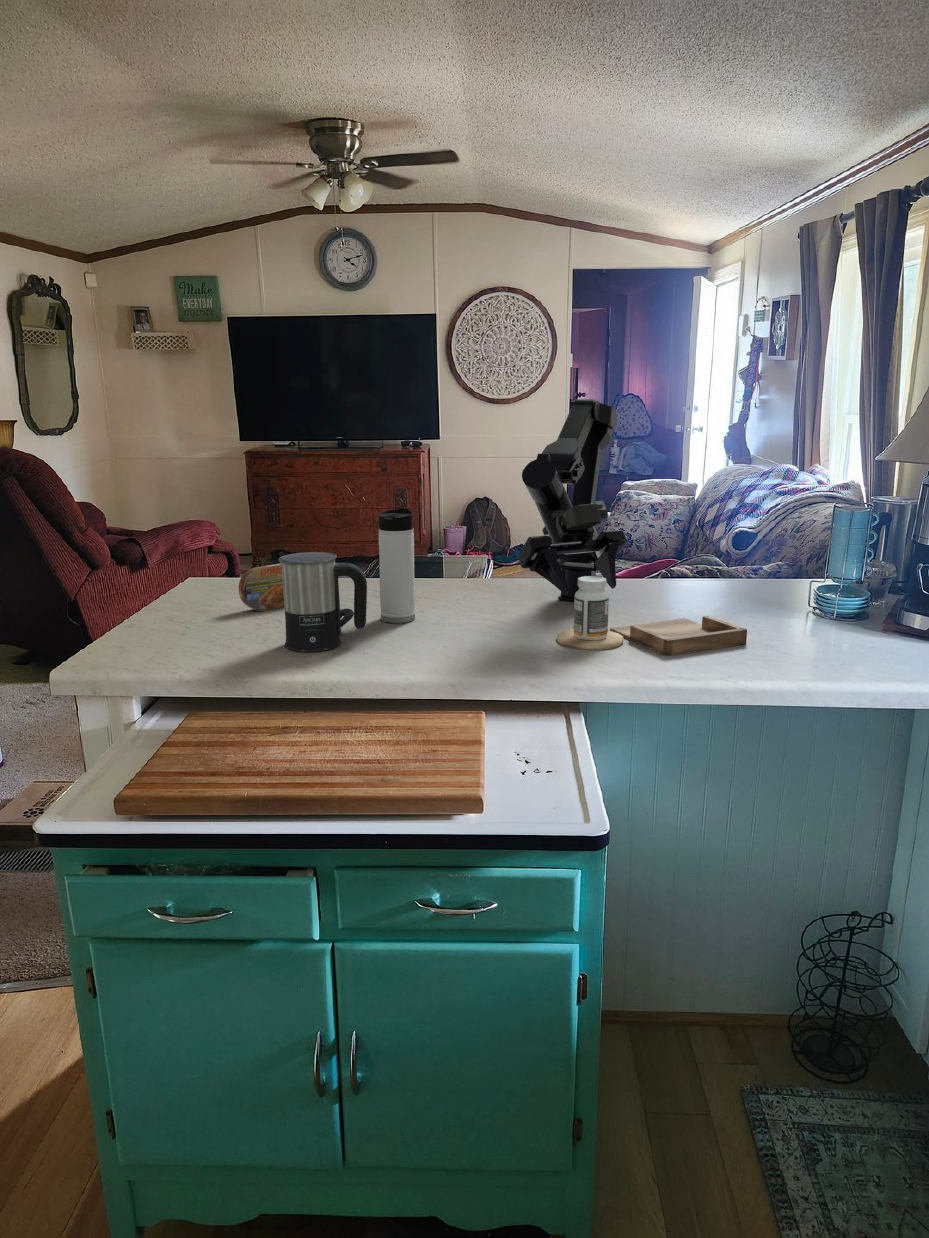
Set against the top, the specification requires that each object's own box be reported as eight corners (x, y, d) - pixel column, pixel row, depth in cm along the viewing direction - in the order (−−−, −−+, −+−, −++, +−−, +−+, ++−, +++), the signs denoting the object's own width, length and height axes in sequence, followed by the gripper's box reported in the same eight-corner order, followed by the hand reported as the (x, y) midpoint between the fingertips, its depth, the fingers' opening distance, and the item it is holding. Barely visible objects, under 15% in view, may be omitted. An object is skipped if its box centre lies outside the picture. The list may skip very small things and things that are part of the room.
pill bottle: (610, 633, 148) (612, 576, 146) (604, 642, 143) (606, 583, 140) (576, 631, 150) (578, 574, 147) (570, 639, 145) (571, 580, 142)
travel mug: (421, 616, 162) (420, 508, 157) (404, 625, 156) (402, 513, 151) (392, 613, 164) (390, 506, 159) (374, 621, 159) (371, 511, 154)
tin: (245, 614, 164) (242, 570, 162) (237, 611, 166) (234, 567, 164) (315, 602, 173) (314, 560, 171) (308, 599, 176) (306, 558, 173)
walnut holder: (609, 631, 152) (610, 617, 151) (684, 621, 158) (685, 608, 158) (666, 655, 138) (667, 640, 137) (746, 644, 144) (747, 629, 144)
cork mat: (547, 644, 144) (547, 641, 144) (570, 628, 154) (570, 625, 153) (611, 653, 139) (612, 649, 139) (631, 636, 149) (631, 633, 149)
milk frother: (292, 656, 138) (287, 563, 134) (266, 632, 152) (261, 547, 148) (377, 644, 144) (374, 556, 141) (344, 622, 158) (341, 541, 154)
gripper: (527, 487, 141) (561, 567, 135) (623, 482, 149) (660, 557, 142) (504, 529, 150) (534, 605, 144) (596, 522, 158) (629, 594, 151)
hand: (590, 589), depth 145 cm, fingers open, 9 cm apart
